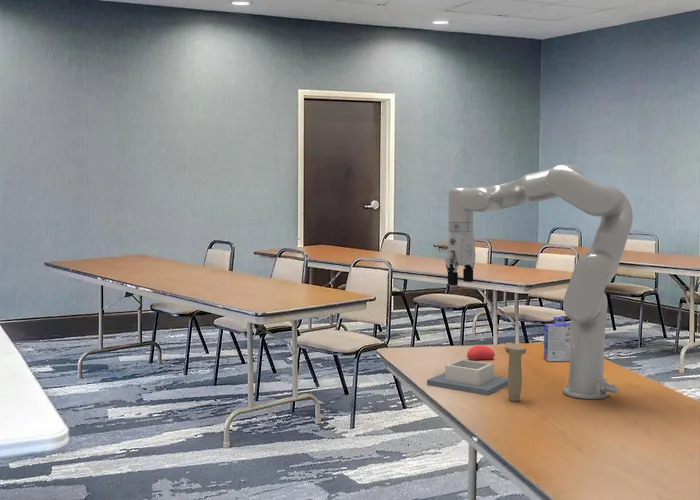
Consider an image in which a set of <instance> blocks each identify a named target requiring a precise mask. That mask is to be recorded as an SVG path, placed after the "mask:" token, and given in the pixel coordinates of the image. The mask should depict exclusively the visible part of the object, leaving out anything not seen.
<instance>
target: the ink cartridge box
mask: <svg viewBox="0 0 700 500" xmlns="http://www.w3.org/2000/svg"><path fill="white" fill-rule="evenodd" d="M570 329H571V322H569V323H567V322H565V317H564V316H553V323H543V359H544V360H545V361H546V362H569V358H570Z"/></svg>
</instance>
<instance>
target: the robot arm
mask: <svg viewBox="0 0 700 500" xmlns="http://www.w3.org/2000/svg"><path fill="white" fill-rule="evenodd" d="M557 198H559V199H561V200H563V201H565V202H566V203H568V204H570V205H572V206H573V207H575V208H577V209H579V210H580V211H581V212H583V213H585V214H587V215H589V216H592V217H601V218H600V223H599V225H598V227H597V229H596V232H595V235H594V238H593V241H592V244H591V246H590V248H589V251H587V252H585V253H584V254H582V255H581V256H580V258H579V259H577V261H576V264H575V266H574V268H573V271H572V274H571V276H570V279H569V283H568V285H567V287H566V291H565V294H564V297H563V302H562V307H563V312H564V314H565V315H566V317H568V319H569V320H570V321H571V322H570V323H571V329H570V358H569V361H568V362H569V363H568V364H569V365H568V366H569V369H568V384H567V385H565V386H564V387H563V388H562V393H563V394H565V395H566V396H569V397H570V398H571V397H573V398H575V399H586V400H597V399H598V400H600V399H605V398H607V397H608V396H609V393H613V394H617V393H618V391H619V390H618V389H619V387H618V386H617V385H616V384H611V383H608V382H607V378H604V366H605V363H604V362H605V342H606V341H605V340H606V326H607V325H606V322H607V315H608V305H609V304H608V297H607V294H606V293H605V290H606V287H607V285H608V282H609V281H611V280H612V279H613V278H614V277H616V275H617V271H618V269H619V265H620V262H621V259H622V256H623V253H624V251H625V248H626V244H627V241H628V238H629V235H630V232H631V229H632V226H633V217H634V214H633V208H632V204H631V202H630V200H629V199H628V197H627V196H626V195H625V193H623V192H622V191H621V190H620V189H619V188H617V187H615V186H613V185H610V184H599V183H598V182H596V181H594V180H592V179H591V178H588V177H587V176H585V175H584V173H583V171H582V170H581V169H580V168H579V167H578V166H576V165H574V164H558V165H555V166H554V167H551V168H549V169H544V170H541V171H536V172H532V173H528V174H524V175H523V176H522V177H520V178H518V179H516V180H512V181H509V182H505V183H502V184H498V185H491V186H488V185H487V186H478V187H471V188H470V187H451V188H450V189H449V190H448V219H447V220H448V227H447V228H448V229H447V230H448V232H447V233H448V239H447V255H446V257H445V258H444V262H445V267H446V272H447V285H448V286H454V287H455V286H458V284H459V272H458V269H459V266H461V267H463V270H462V273H463V274H462V275H463V276H462V277H463V278H462V279H463V280H462V281H463V282H464V283H465V282H466V283H474V269H475V266H474V265H475V263H476V242H475V234H474V212H476V213H477V212H478V213H487V212H494V211H498V210H499V211H500V210H504V209H509V208H512V207H517V206H520V205H530V204H534V203H540V202H542V201H543V202H544V201H547V200H551V199H557Z"/></svg>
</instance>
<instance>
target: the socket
mask: <svg viewBox="0 0 700 500" xmlns="http://www.w3.org/2000/svg"><path fill="white" fill-rule="evenodd" d="M494 366H495V364H494V363H491V362H490V363H489V362H482V361H478V360H469V359H465V358H464V359H462V358H460V359H457V360H454V361H453V362H450V363H447V364H445V365H444V367H445V368H444V372H443V373H440V374H439V375H435V376H433V377H430V378H428V379H426V385H427V386H431V387H437V388H443V389H449V390H453V391H454V390H455V391H459V392H461V391H462V392H465V393H466V392H467V393H470V394H471V393H472V394H476V395H477V394H478V395H483V396H490V395H491V394H494V393H495V392H498V391H500V390H502V389H504V388H506V387H508V386H507V382H508V381H507V380H508V377H501V376H497V375H495V374H494V372H495V371H494V368H495V367H494Z"/></svg>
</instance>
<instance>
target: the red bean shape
mask: <svg viewBox="0 0 700 500" xmlns="http://www.w3.org/2000/svg"><path fill="white" fill-rule="evenodd" d="M466 357H467V360H470V361H479V360H483V361H484V360H485V361H487V360H488V361H489V360H493V359H494V358H495V352H494V350H493V349H492V348H491V347H489V346H487V345H483V344H478V345H474V346H472V347H470V348H469V349H468V350H467V354H466Z"/></svg>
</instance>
